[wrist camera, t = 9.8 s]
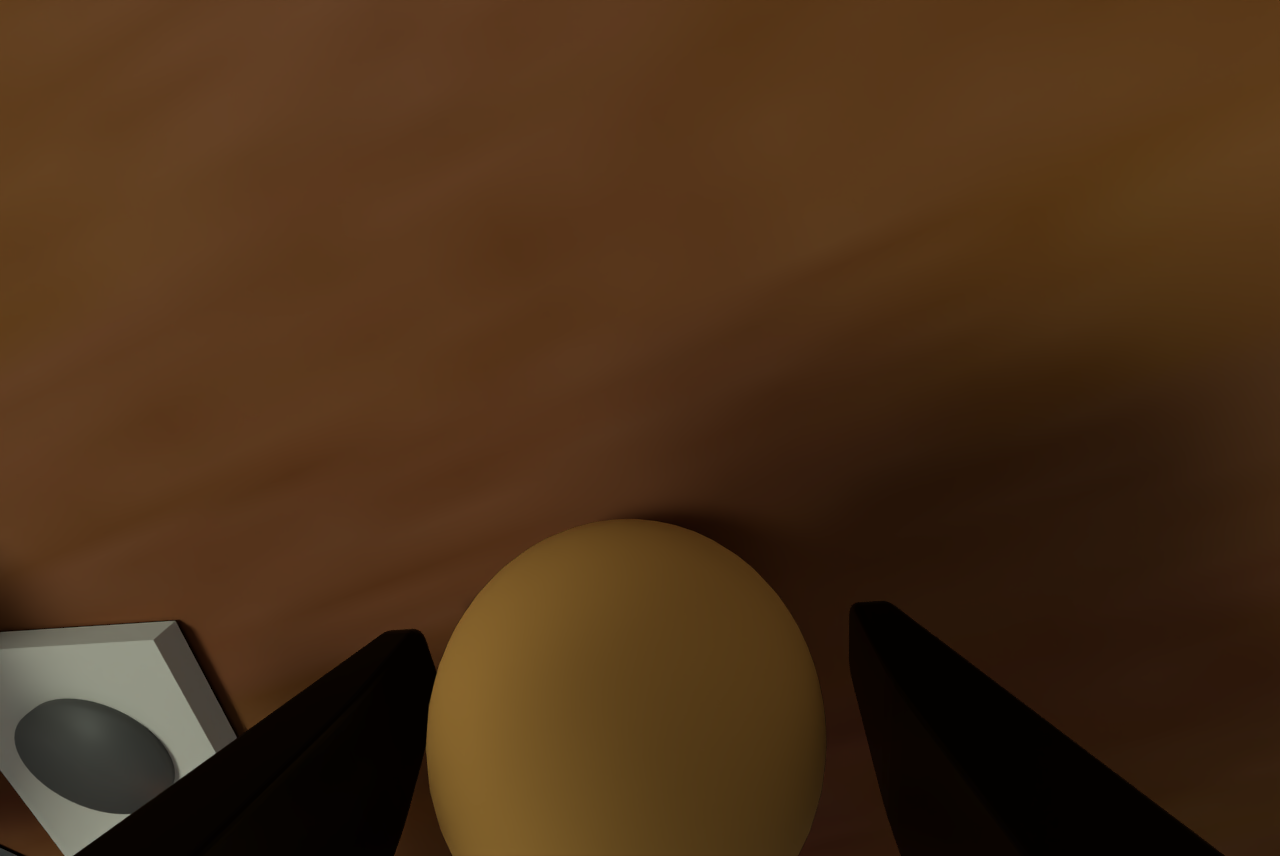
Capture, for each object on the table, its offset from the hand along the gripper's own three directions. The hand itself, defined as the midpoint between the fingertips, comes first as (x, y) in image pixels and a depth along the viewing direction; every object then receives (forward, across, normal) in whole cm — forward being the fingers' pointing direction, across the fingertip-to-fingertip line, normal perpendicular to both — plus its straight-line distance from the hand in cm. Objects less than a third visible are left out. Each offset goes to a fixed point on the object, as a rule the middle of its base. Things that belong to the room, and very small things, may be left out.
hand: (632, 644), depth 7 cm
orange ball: (-1, 0, 0) cm, 1 cm away
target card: (+1, +9, +5) cm, 10 cm away
